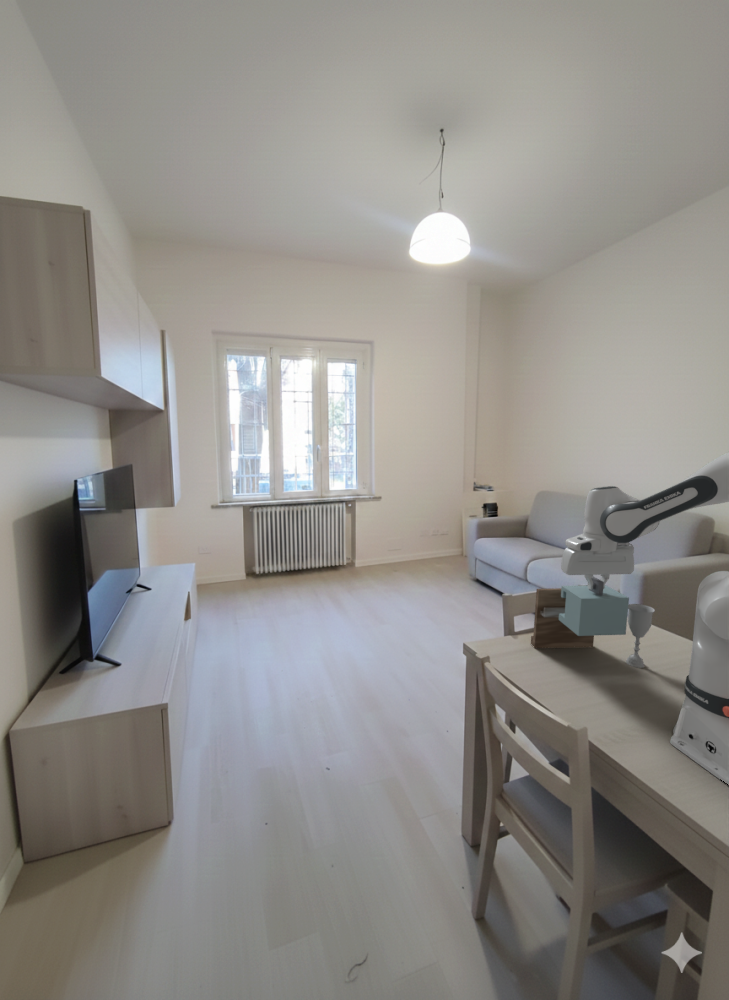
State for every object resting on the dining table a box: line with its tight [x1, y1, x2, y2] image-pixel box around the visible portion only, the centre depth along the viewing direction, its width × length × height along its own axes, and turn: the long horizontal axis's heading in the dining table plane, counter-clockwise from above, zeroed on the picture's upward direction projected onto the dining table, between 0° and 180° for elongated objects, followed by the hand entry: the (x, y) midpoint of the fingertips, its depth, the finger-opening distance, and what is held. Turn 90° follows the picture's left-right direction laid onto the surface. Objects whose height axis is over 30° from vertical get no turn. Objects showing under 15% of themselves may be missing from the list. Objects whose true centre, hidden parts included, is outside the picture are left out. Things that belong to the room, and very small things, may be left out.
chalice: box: [625, 603, 656, 669], centre depth 136 cm, size 7×7×18 cm
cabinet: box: [559, 576, 630, 637], centre depth 131 cm, size 11×14×15 cm
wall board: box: [530, 587, 595, 649], centre depth 146 cm, size 6×20×20 cm, turn 94°
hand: (595, 588), depth 130 cm, fingers closed on cabinet
